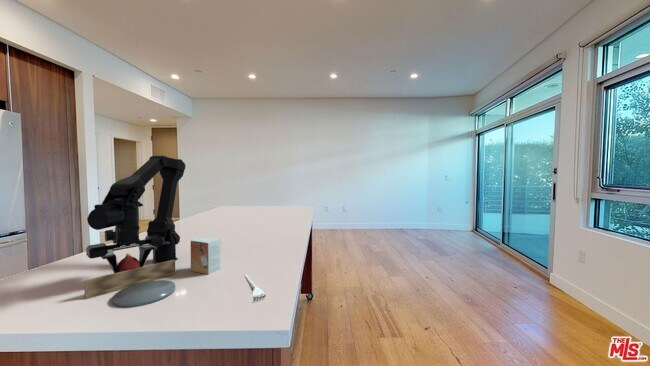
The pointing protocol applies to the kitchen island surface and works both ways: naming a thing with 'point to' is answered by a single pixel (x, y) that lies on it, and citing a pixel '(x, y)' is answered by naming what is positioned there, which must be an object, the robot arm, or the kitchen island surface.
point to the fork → (255, 289)
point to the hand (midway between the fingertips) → (128, 272)
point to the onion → (128, 263)
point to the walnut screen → (127, 278)
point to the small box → (205, 255)
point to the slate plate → (143, 293)
